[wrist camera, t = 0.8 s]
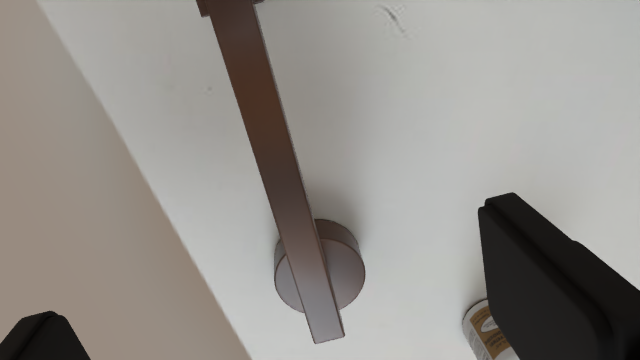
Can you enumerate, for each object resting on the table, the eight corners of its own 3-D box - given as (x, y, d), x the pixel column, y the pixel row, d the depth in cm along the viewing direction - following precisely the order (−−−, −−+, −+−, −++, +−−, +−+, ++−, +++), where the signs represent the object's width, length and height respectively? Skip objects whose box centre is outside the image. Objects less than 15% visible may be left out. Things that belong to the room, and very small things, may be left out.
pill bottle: (518, 290, 32) (588, 375, 25) (518, 336, 34) (583, 428, 26) (459, 302, 32) (511, 391, 25) (462, 348, 34) (511, 444, 26)
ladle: (366, 280, 30) (393, 368, 23) (287, 300, 30) (290, 393, 23) (291, -35, 22) (298, -47, 15) (184, -7, 22) (141, -6, 15)
